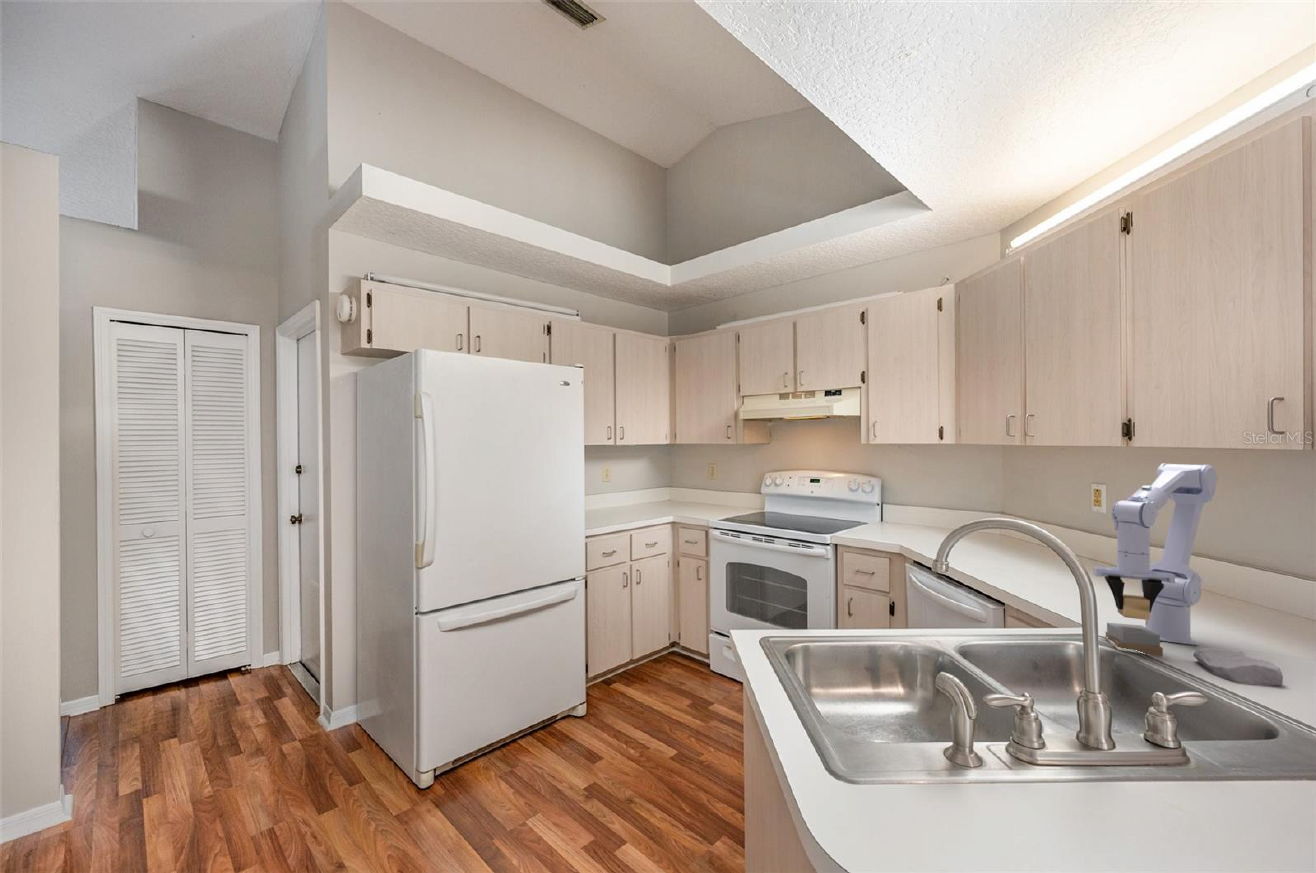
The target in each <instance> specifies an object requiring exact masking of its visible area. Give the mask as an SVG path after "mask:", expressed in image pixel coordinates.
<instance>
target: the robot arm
mask: <svg viewBox="0 0 1316 873" xmlns="http://www.w3.org/2000/svg"><path fill="white" fill-rule="evenodd" d="M1155 474H1156V475H1155V476H1156V478H1155V480H1153V482H1152V483H1151V485H1142V486H1141V487H1140V488H1139V489H1138V490H1137V491H1135V492H1134V493H1133V494H1132V495H1130V497H1128V498H1127V499H1126V500H1119V501H1117V502H1115V503H1114V504H1113V506H1112V509H1111V513H1110V514H1111V519H1112V521H1113V524H1114V525H1113V526H1114V530H1115V531H1116V532H1117V535H1116V536H1117V538H1116V539H1117V541H1116V542H1117V544H1116V546H1117V547H1116V549H1117V553H1116V555H1117V556H1116V558H1117V559H1116V561H1117V563H1116V567H1114V566H1113V567H1111V566H1109V567H1107V566H1105V567H1104V566H1093V575H1094V576H1096V577H1100V578H1101V577H1104V580H1105V582H1106V583H1107V585H1108V587H1109V589H1110V590H1111V593H1112V596H1113V600H1114V602H1115V607H1116V608H1117V610H1118V609H1122V610H1123V594H1124V589H1125V582H1124V581H1123V579H1127V580H1128V579H1129V580H1139V581H1140V583H1139V584H1140V590H1141V591H1142V594H1143V595H1142V596H1143V597H1145V598H1146V599H1148V600H1149V601H1150V620H1144V621H1145V626H1144V627H1145V628H1147V629H1149V630H1151V631H1153V632H1155V633H1156V634H1158V635H1160V642H1161V641H1162V642H1168V643H1177V644H1183V645H1192V646H1199V645H1200V644H1199V642H1197V641H1196V640H1194V639H1193V638H1191V607H1192V606H1195V605H1196V604H1197V603H1198V602H1200V600H1201V596H1202V586H1201V585H1202V578H1201V576H1200V575H1199V573H1197V572H1196V571H1195V570H1194V569H1193V568H1191V567H1190V566H1189V565H1190V562H1191V556H1192V553H1193V552H1192V551H1193V549H1194V545H1195V544H1194V543H1195V542H1196V541H1195V540H1196V536H1197V533H1198V532H1197V531H1198V528H1199V524H1200V519H1201V516H1202V511H1203V508H1204V505H1205V504H1206V503H1208V502H1211V501H1213V498H1214V496H1215V492H1216V489H1217V483H1218V477H1217V472H1216V469H1215V468H1214V467H1213V466H1212V465H1211V464H1183V463H1182V464H1181V463H1167V462H1163V463H1161V464H1160V465H1159V466H1158V468H1157V470H1156V473H1155ZM1168 499H1170V500H1172V501H1174V502H1175V504H1174V509H1173V513H1172V516H1171V520H1170V526H1169V529H1168V532H1167V537H1166V540H1165V545H1164V547H1163V551H1162V557H1161V559H1160V560H1158V561H1154V562H1152V563H1150V557H1151V556H1150V551H1151V549H1150V548H1151V546H1150V545H1151V544H1150V542H1151V541H1150V538H1151V536H1150V535H1151V534H1150V533H1151V532H1150V531H1151V530H1150V528H1151V527H1152V526H1154V524H1155V522H1156V519H1157V517H1158V515H1159V513H1158V512H1159V511H1160V510H1161V509H1162V508H1163V507H1164V506H1165V505H1166V504H1167V503H1168V501H1169V500H1168Z"/></svg>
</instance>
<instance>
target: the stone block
mask: <svg viewBox="0 0 1316 873" xmlns="http://www.w3.org/2000/svg"><path fill="white" fill-rule="evenodd" d="M1193 657H1194V658H1195V659H1196V660H1197V661H1198V662H1199V663H1200V664H1201V665H1202V666H1204V667H1206V668H1207V670H1208V671H1210V672H1211V673H1213V674H1214V675H1215V676H1217V677H1221V678H1223V679H1225V680H1228V681H1231V682H1235V683H1238V684H1245V685H1246V684H1247V685H1252V686H1253V685H1254V686H1255V685H1258V686H1260V685H1261V686H1262V685H1264V686H1275V687H1276V686H1277V687H1281V686H1282V687H1283V679H1284V676H1283V672H1282V671H1281V668H1280V667H1279V666H1278V665H1276V664H1274V663H1273V662H1271V661H1267V660H1264V659H1258V658H1253V657H1250V656H1248V655H1247V654H1246V653H1245V652H1243V651H1241V650H1227V649H1223V648H1218V647H1203V648H1198V649H1197V648H1196V649H1195V650H1194V651H1193Z"/></svg>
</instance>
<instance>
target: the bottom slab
mask: <svg viewBox="0 0 1316 873" xmlns="http://www.w3.org/2000/svg"><path fill="white" fill-rule="evenodd" d="M1106 637H1108V639H1110V640H1112V641H1113V642H1114V643H1115V645H1117V647H1121V648H1126V649H1133V650H1137V651H1140V652H1143V653H1145V654H1144V655H1147V654H1150V655H1149V656H1156V657H1163V656H1164V655H1163V654H1164V653H1163V652H1164V651H1163V650H1164V648H1163V647H1162V646H1161V645H1160V646H1149V645H1139V644H1129V643H1122V642H1121V641H1119V640H1118V639H1116V638H1114V637H1113V636H1111V635H1110V634H1108V633H1107V631H1105V638H1106Z"/></svg>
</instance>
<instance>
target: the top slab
mask: <svg viewBox="0 0 1316 873" xmlns="http://www.w3.org/2000/svg"><path fill="white" fill-rule="evenodd" d="M1106 632H1107V633H1108V634H1110V635H1111V636H1113V637H1114V638H1116V639H1118V640H1119V641H1121V642H1122V643H1129V644H1139V645H1149V646H1161V641H1160V635H1158V634H1156V633H1155V632H1153V631H1151V630H1149V629H1147V628H1145V626H1144V625H1141V624H1127V623H1115V622H1106Z"/></svg>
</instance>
